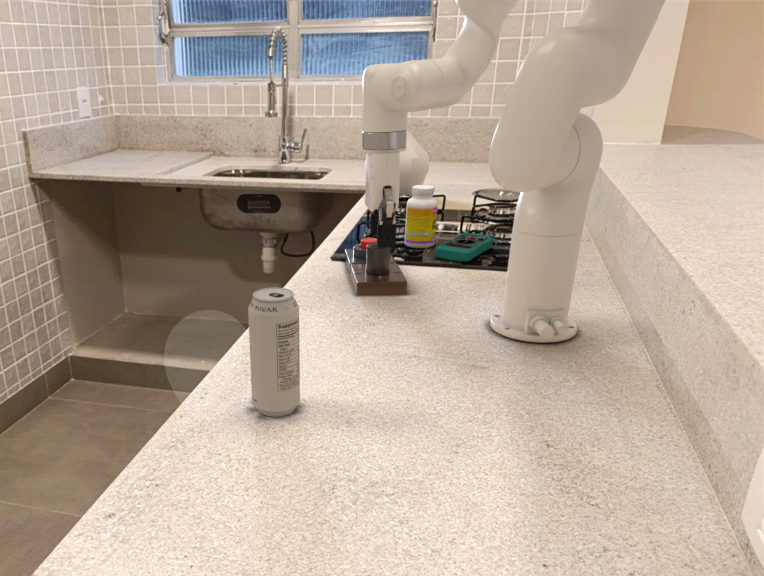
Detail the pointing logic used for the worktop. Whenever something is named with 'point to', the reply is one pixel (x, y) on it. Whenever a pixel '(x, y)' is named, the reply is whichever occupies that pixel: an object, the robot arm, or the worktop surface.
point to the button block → (358, 256)
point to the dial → (377, 260)
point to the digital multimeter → (464, 247)
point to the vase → (411, 166)
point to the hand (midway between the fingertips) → (382, 240)
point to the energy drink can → (274, 351)
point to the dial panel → (378, 281)
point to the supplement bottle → (421, 217)
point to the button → (367, 242)
